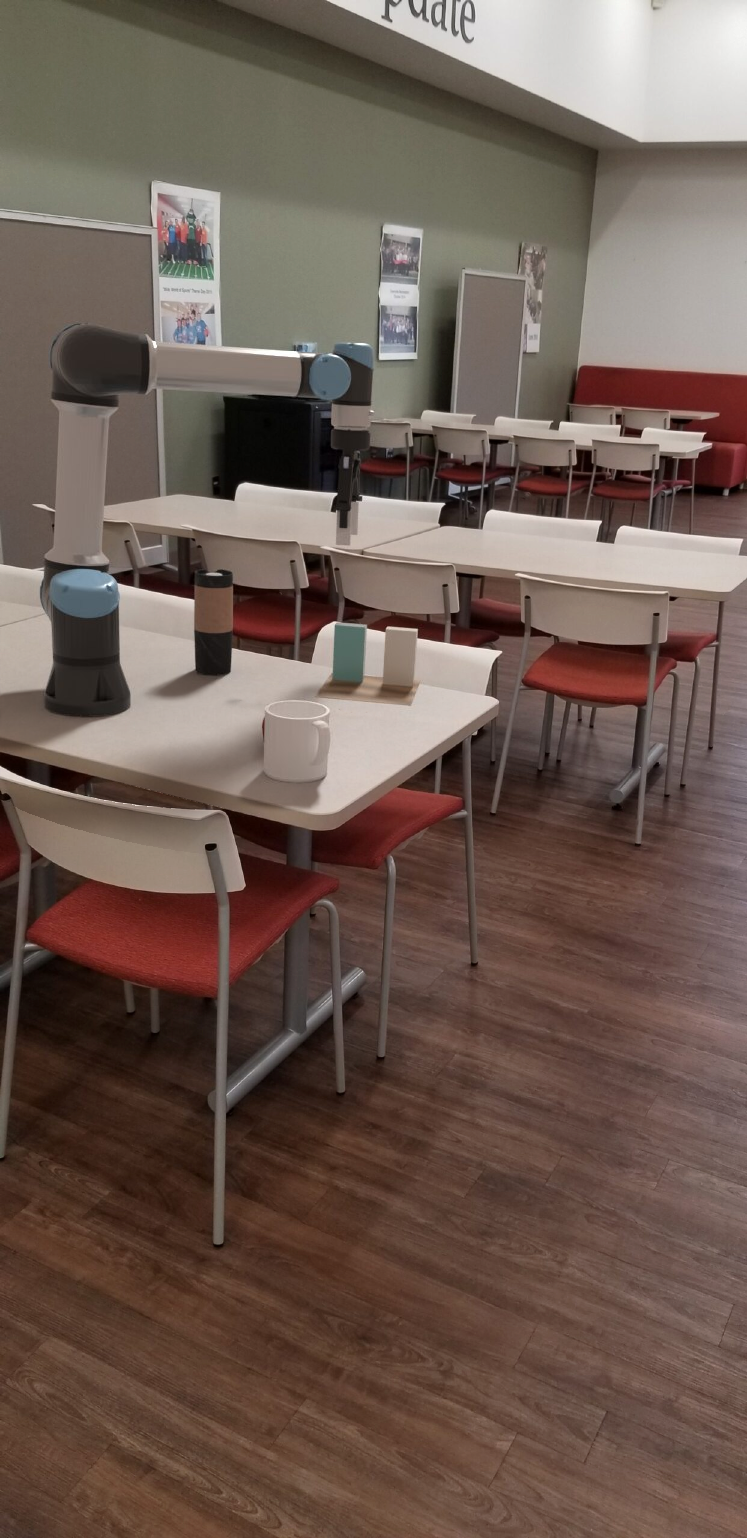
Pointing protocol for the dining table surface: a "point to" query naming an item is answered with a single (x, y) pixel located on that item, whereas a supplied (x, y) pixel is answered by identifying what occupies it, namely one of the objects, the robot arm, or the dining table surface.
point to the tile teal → (349, 652)
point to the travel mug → (213, 621)
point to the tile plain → (400, 656)
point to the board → (368, 691)
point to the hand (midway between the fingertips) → (346, 539)
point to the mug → (296, 741)
